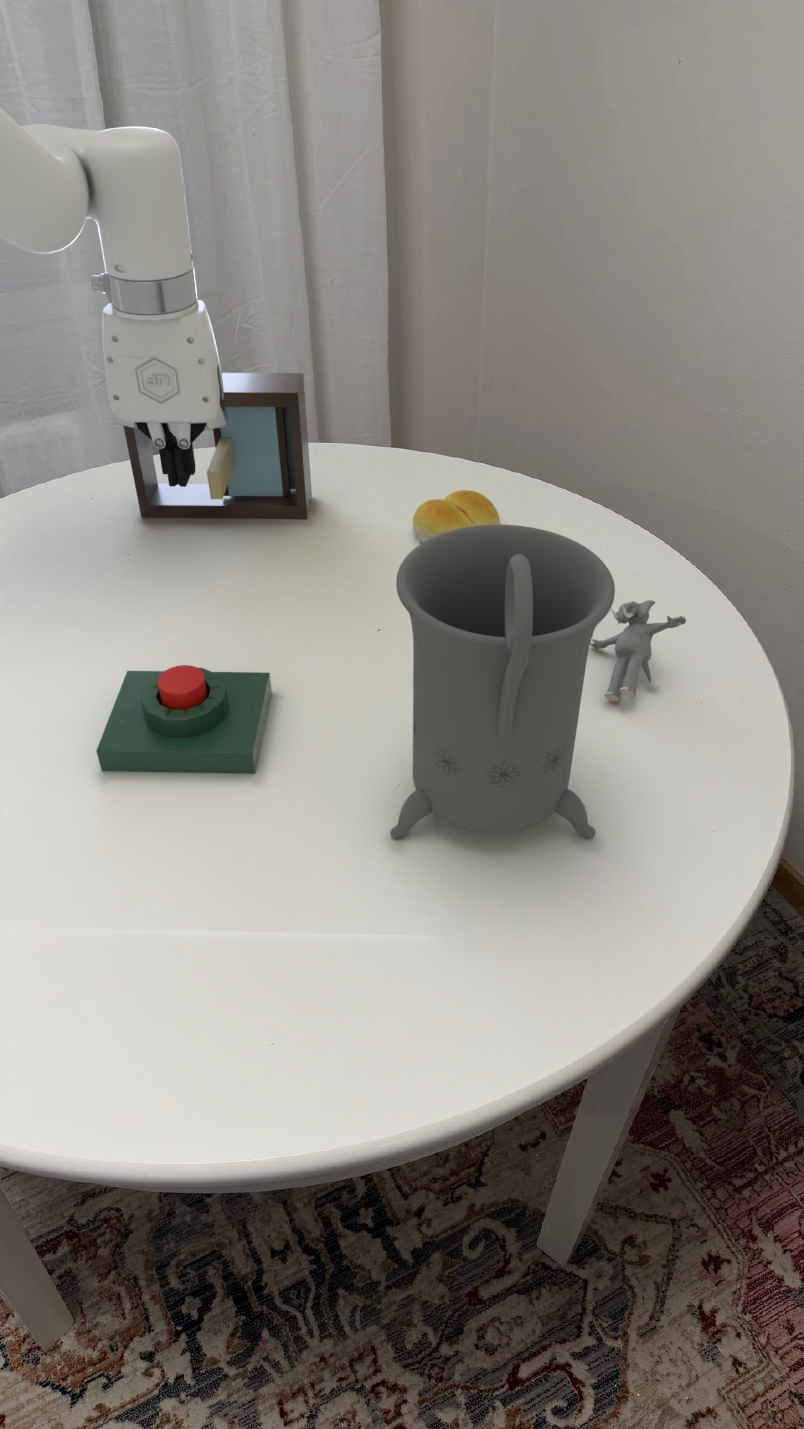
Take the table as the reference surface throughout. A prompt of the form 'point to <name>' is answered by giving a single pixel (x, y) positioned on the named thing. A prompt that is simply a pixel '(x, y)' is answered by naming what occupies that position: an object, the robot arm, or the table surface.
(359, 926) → the table surface
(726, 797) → the table surface
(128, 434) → the window frame
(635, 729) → the table surface
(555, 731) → the mug
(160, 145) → the robot arm
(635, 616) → the elephant figurine
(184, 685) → the button
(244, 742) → the button box
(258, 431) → the window pane
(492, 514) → the bread roll
